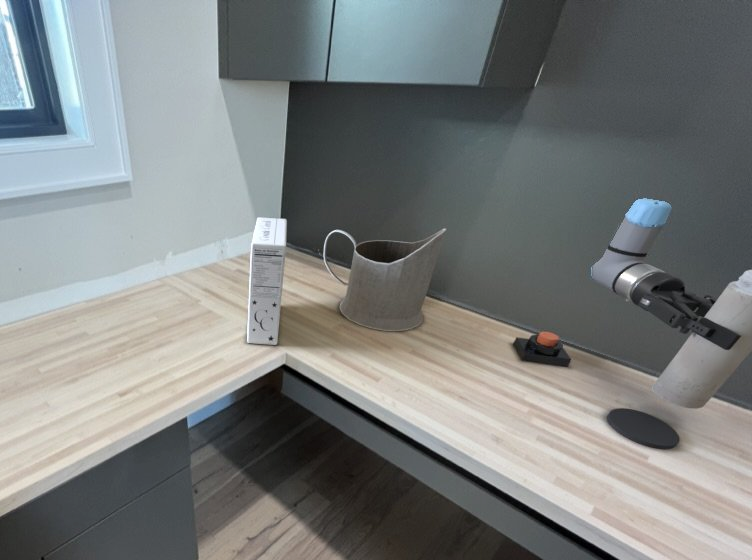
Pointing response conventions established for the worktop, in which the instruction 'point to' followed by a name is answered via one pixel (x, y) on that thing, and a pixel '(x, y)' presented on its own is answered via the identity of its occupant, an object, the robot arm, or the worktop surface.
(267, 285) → the cereal box
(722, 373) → the thermos bottle
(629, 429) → the coaster
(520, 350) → the button block
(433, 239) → the pitcher
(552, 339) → the lid button
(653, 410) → the worktop surface
